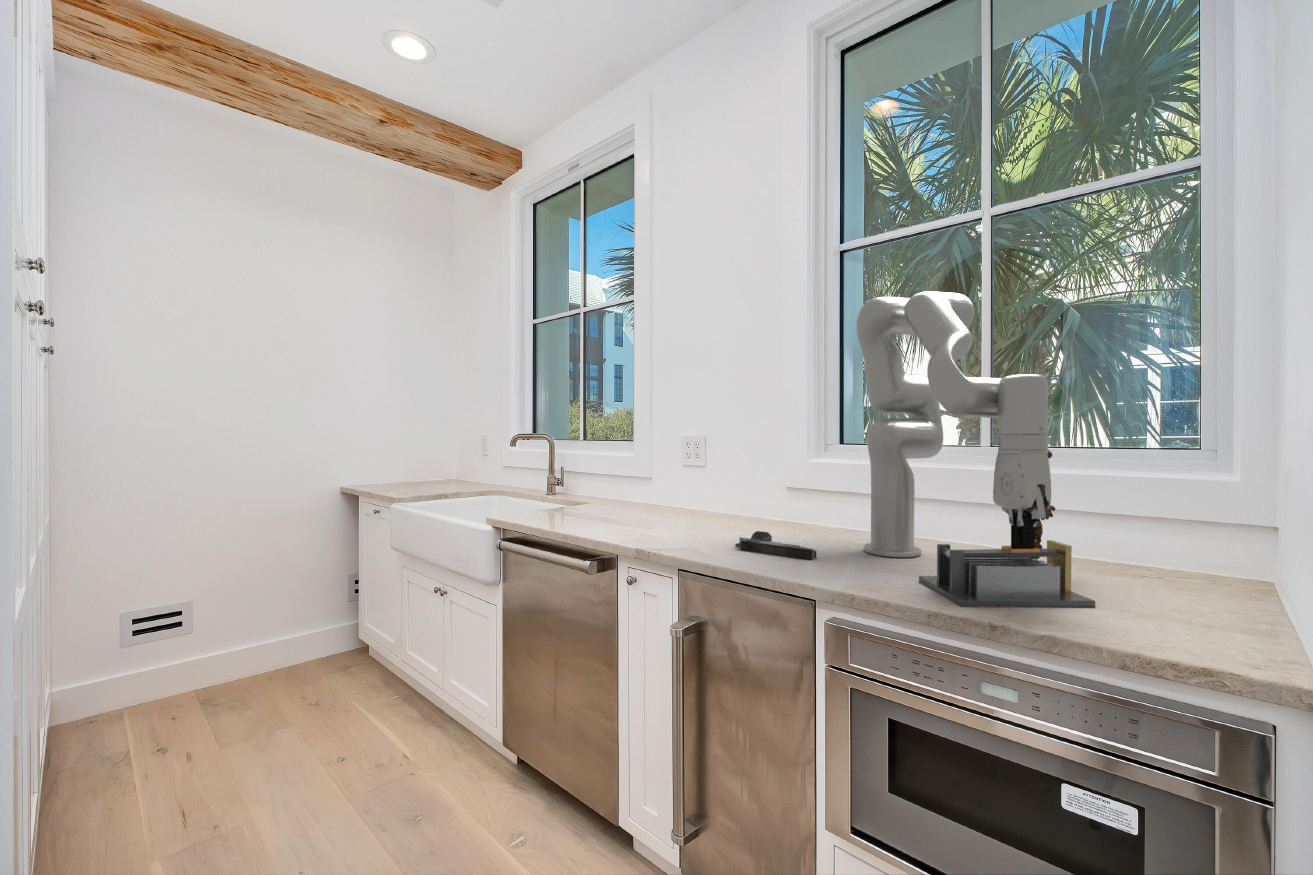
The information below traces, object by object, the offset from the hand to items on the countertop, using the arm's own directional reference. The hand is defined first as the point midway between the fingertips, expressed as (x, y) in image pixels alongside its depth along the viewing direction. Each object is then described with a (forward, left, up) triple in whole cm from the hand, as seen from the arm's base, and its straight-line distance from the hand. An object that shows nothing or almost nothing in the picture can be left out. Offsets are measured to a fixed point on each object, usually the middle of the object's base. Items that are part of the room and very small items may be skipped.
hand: (1022, 547), depth 105 cm
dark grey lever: (0, -4, -2) cm, 4 cm away
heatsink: (0, -4, -8) cm, 9 cm away
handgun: (-37, -35, -9) cm, 52 cm away
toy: (-16, +11, -8) cm, 22 cm away
